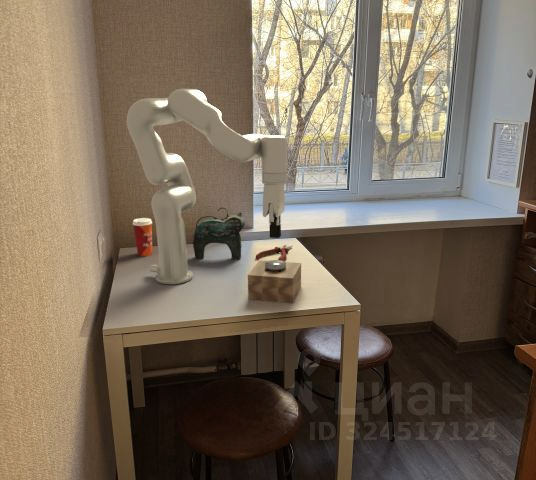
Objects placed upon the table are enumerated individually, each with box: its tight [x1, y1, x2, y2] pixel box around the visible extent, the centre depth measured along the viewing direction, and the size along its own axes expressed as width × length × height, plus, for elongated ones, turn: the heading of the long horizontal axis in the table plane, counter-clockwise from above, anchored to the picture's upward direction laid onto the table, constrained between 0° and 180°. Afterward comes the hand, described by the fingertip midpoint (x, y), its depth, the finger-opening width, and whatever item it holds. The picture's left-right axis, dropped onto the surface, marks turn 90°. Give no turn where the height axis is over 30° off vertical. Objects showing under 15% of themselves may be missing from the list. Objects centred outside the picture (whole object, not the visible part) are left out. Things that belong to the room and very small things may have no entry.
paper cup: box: [132, 217, 153, 257], centre depth 194 cm, size 8×8×14 cm
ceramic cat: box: [192, 207, 246, 260], centre depth 187 cm, size 20×6×20 cm, turn 84°
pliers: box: [255, 244, 293, 262], centre depth 194 cm, size 12×20×3 cm, turn 154°
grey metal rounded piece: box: [265, 259, 287, 272], centre depth 155 cm, size 7×7×9 cm
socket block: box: [247, 259, 302, 304], centre depth 155 cm, size 14×14×8 cm
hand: (275, 237), depth 151 cm, fingers closed
